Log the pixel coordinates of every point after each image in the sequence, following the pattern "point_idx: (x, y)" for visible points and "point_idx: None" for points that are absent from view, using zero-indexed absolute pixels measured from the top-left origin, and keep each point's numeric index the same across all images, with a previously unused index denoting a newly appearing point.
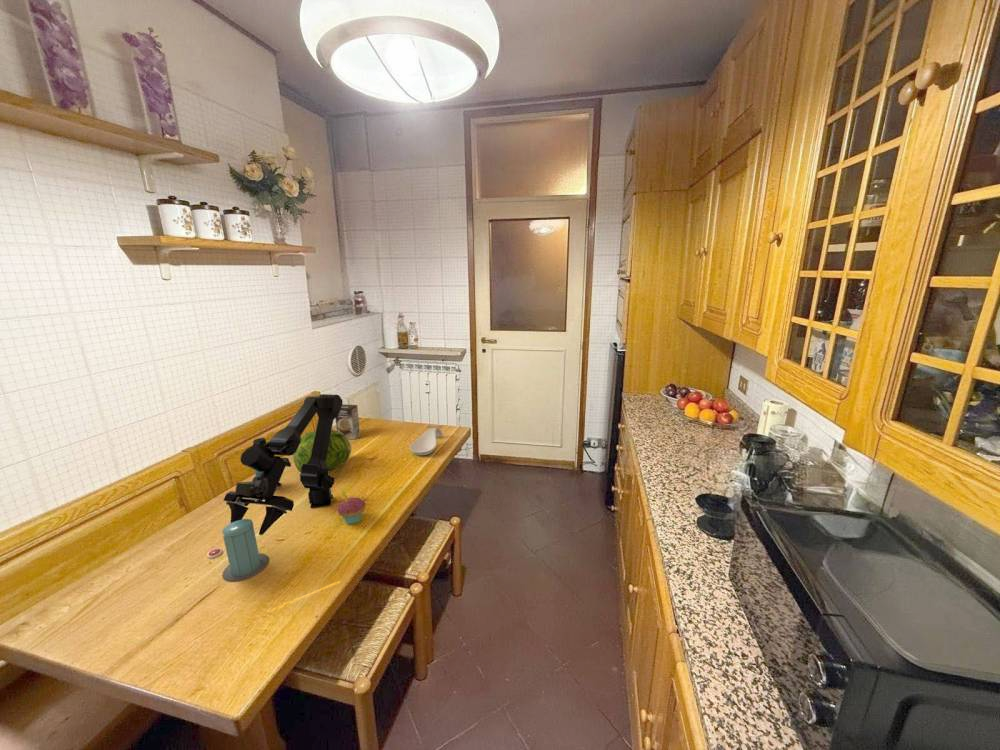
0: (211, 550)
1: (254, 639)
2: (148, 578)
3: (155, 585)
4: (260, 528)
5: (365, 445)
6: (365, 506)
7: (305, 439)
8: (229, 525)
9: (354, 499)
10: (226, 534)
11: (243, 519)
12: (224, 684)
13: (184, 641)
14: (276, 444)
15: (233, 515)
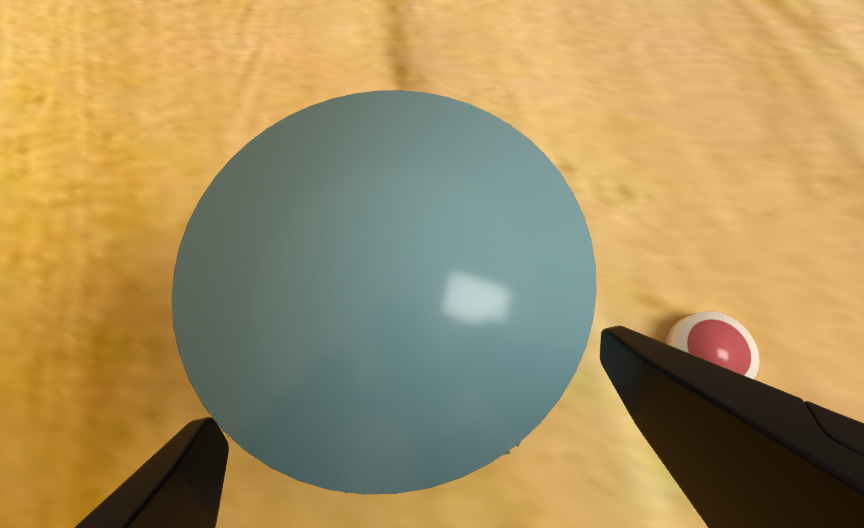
0: (753, 353)
1: (40, 114)
2: (775, 133)
3: (692, 123)
4: (169, 466)
5: None
6: None
7: None
8: (546, 228)
9: None
10: (363, 93)
11: (504, 441)
12: (26, 7)
13: (282, 36)
14: None
15: (815, 440)
